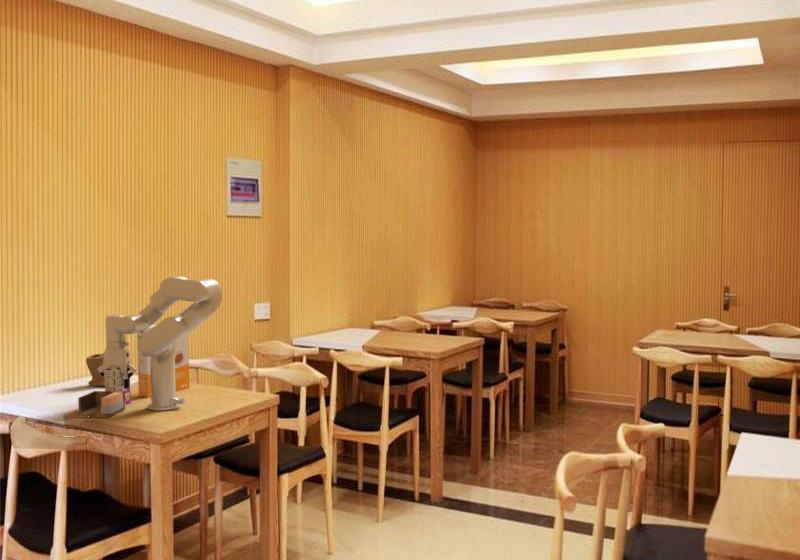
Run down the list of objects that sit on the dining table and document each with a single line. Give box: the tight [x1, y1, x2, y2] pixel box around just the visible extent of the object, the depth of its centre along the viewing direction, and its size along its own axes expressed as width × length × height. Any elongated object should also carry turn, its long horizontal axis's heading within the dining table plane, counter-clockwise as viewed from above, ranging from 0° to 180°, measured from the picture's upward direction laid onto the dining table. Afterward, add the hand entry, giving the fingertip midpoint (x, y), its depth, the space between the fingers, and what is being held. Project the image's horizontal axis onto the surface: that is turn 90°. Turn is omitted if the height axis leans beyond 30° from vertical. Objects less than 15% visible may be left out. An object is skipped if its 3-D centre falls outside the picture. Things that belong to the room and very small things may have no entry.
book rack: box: [77, 390, 126, 418], centre depth 301 cm, size 13×12×8 cm
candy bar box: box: [104, 368, 132, 405], centre depth 314 cm, size 11×5×16 cm, turn 168°
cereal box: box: [136, 323, 190, 398], centre depth 339 cm, size 22×6×30 cm, turn 146°
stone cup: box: [85, 353, 105, 387], centre depth 353 cm, size 15×12×15 cm
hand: (117, 387), depth 314 cm, fingers open, 7 cm apart
